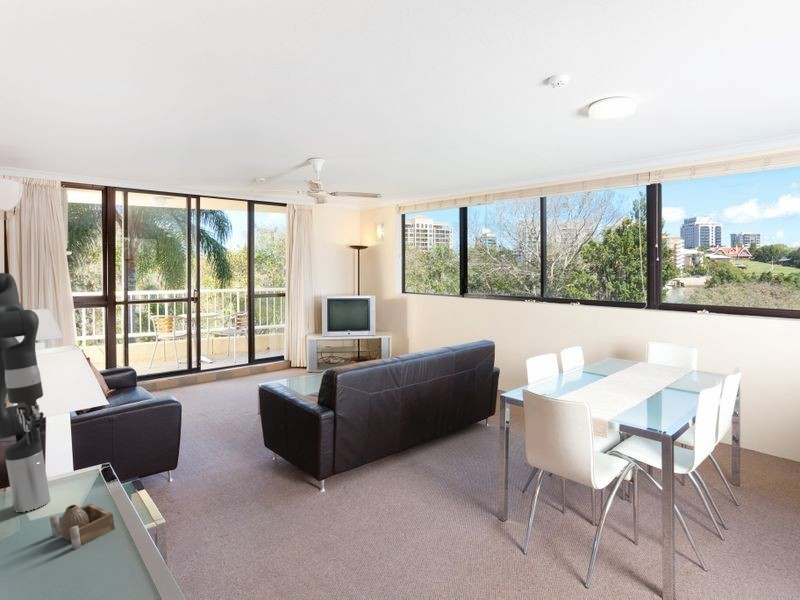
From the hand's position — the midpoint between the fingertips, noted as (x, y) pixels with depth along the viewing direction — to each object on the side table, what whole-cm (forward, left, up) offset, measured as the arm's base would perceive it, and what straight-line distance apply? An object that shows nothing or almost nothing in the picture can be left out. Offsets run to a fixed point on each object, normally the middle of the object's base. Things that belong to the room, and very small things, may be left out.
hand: (33, 443), depth 130 cm
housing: (+9, +6, -27) cm, 29 cm away
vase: (+9, +3, -27) cm, 29 cm away
